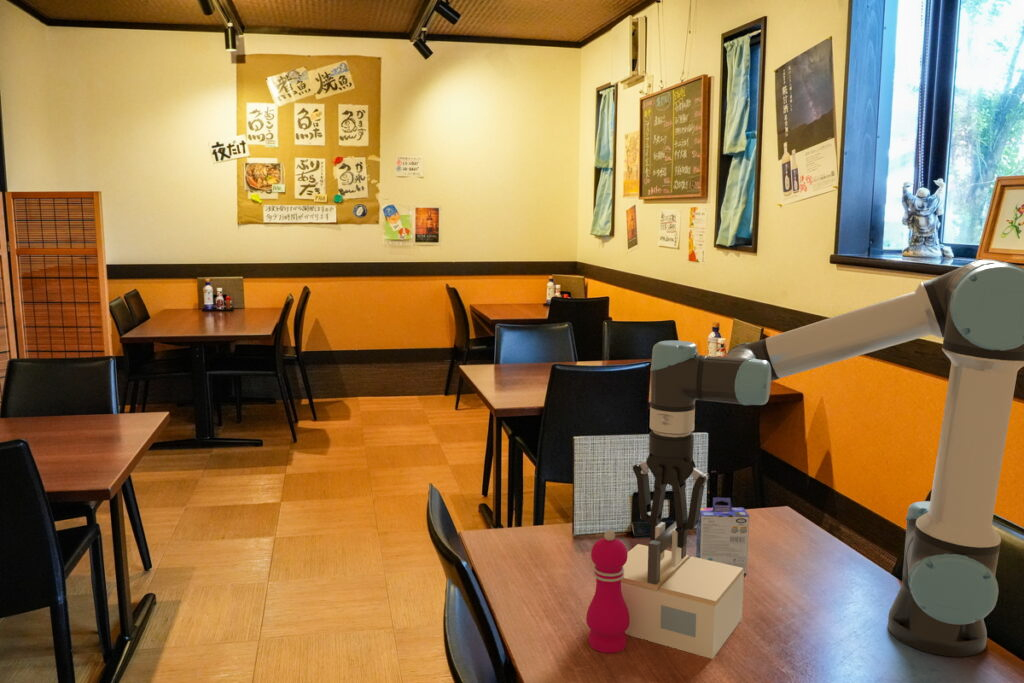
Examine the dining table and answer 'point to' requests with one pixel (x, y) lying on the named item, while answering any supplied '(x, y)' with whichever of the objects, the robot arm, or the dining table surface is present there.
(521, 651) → the dining table surface
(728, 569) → the carton
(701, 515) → the ink cartridge box
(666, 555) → the flap
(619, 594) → the pepper mill
